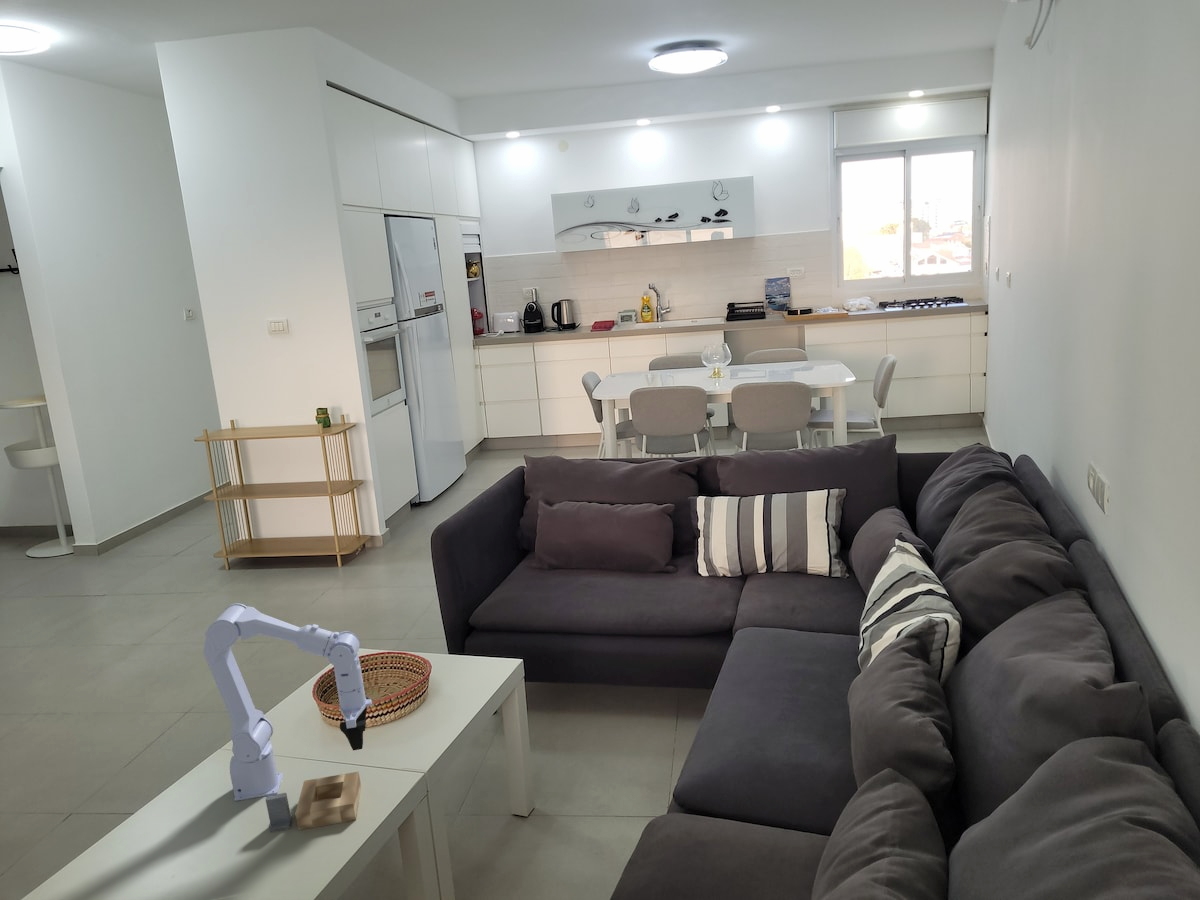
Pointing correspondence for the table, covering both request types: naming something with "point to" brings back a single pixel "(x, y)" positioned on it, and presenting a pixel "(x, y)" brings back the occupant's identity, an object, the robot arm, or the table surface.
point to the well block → (328, 800)
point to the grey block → (278, 812)
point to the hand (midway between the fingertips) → (359, 739)
